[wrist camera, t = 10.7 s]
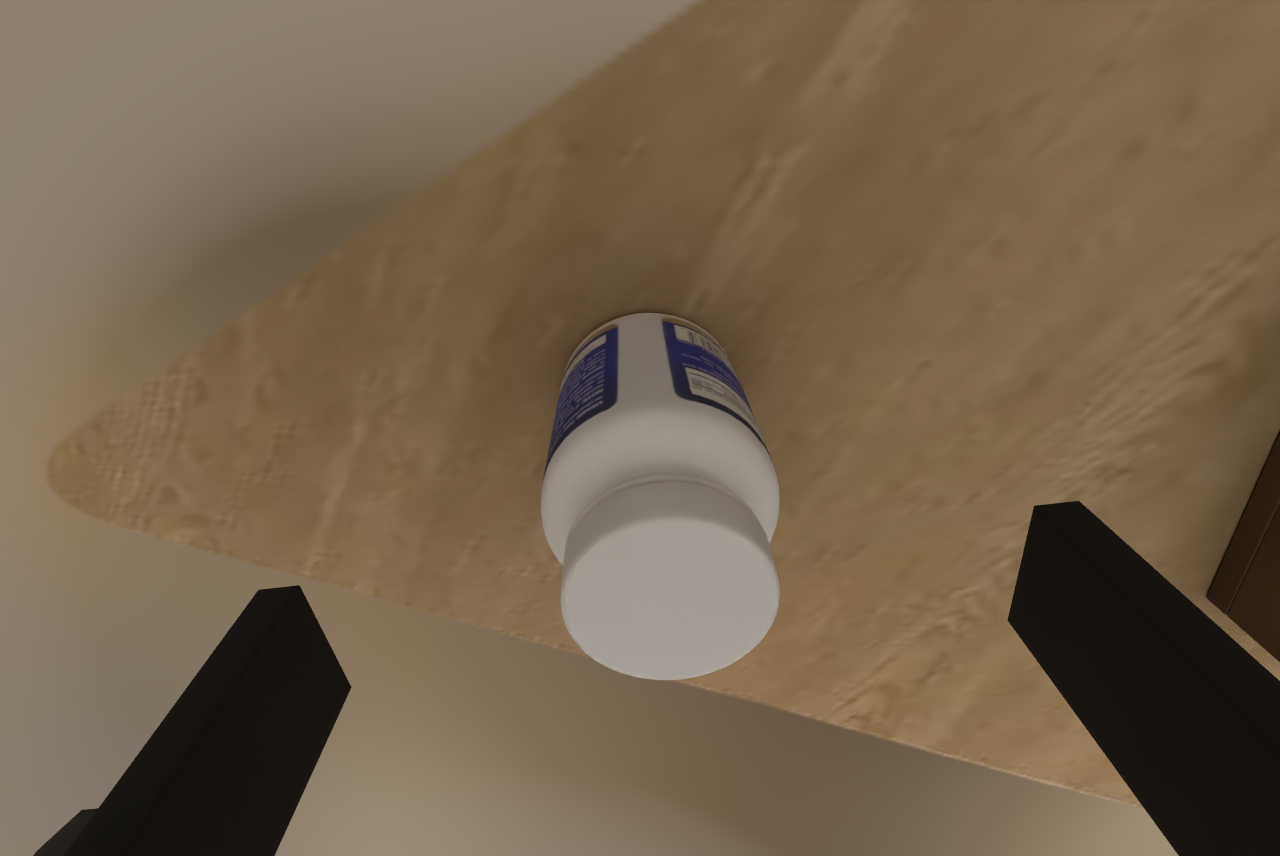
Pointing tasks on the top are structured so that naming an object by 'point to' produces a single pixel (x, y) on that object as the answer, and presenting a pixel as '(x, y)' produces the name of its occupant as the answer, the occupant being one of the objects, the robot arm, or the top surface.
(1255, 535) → the brown rectangular box
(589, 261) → the top surface
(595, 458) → the pill bottle
